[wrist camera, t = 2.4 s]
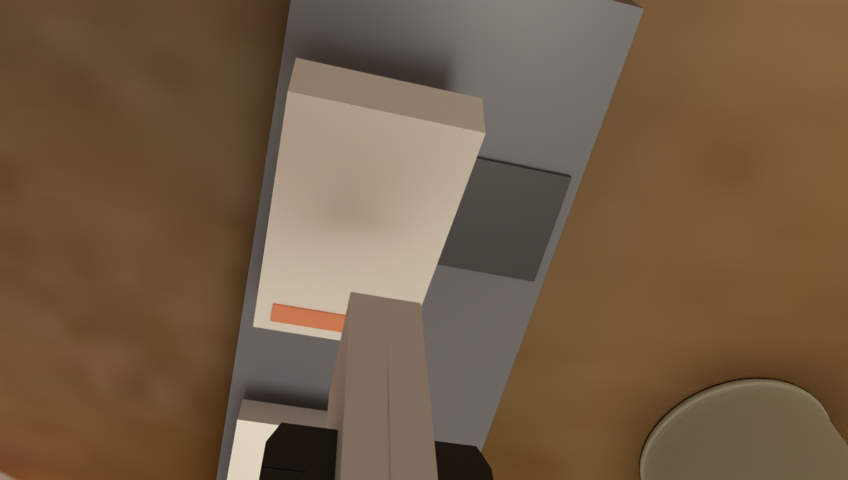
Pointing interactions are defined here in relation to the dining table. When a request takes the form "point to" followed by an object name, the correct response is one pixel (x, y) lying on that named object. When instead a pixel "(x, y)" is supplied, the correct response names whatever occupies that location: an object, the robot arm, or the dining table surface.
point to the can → (746, 436)
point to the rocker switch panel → (485, 191)
